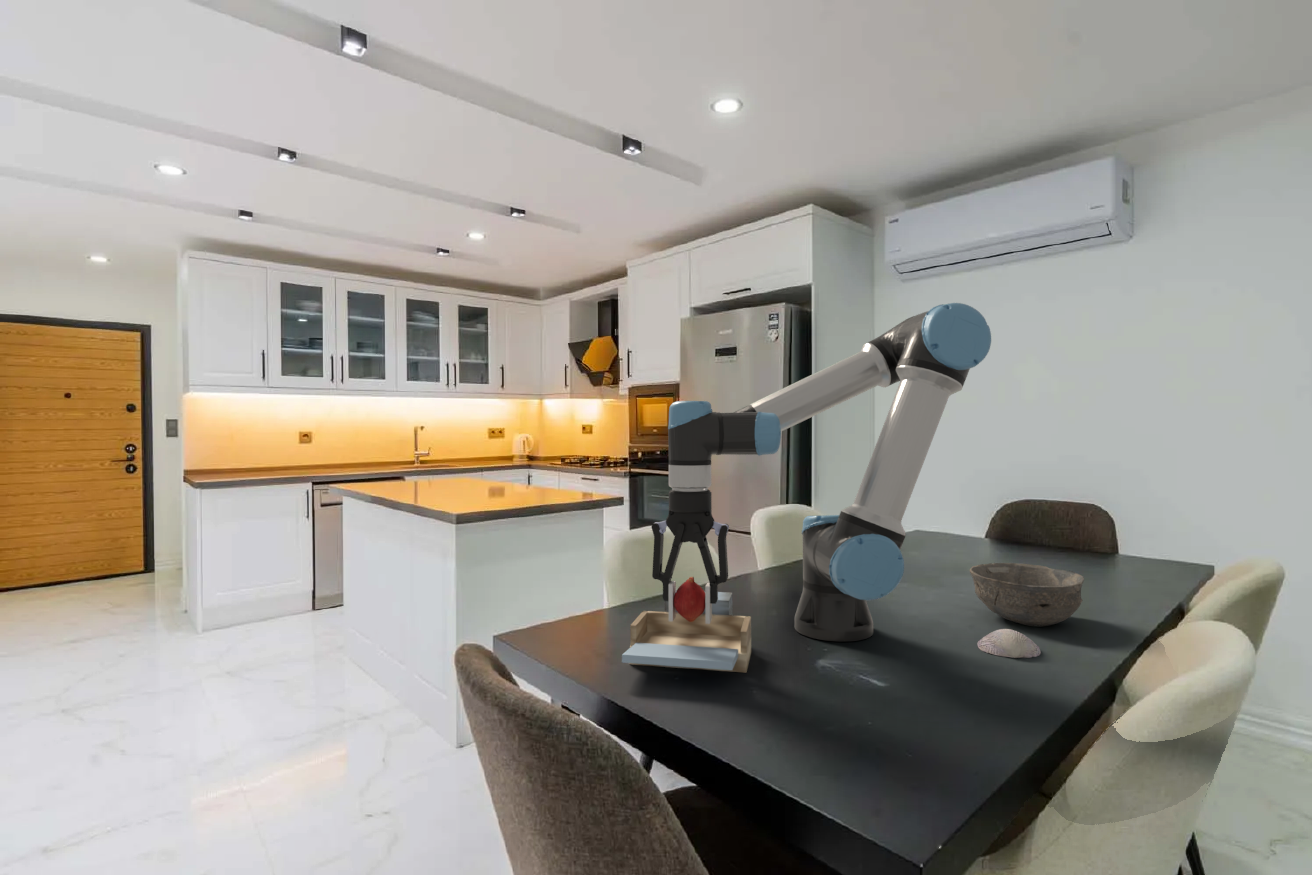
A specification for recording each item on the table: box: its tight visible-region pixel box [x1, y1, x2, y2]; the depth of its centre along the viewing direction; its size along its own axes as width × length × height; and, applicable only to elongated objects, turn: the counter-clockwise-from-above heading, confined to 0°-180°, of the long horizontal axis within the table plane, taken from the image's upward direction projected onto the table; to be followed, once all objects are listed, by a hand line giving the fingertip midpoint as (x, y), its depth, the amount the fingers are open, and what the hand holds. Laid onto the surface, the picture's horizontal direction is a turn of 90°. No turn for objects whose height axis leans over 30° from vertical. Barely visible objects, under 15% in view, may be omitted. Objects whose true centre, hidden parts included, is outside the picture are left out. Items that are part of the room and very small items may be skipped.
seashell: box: [976, 628, 1042, 659], centre depth 117 cm, size 10×6×10 cm
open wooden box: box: [628, 589, 752, 673], centre depth 117 cm, size 20×17×9 cm
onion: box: [674, 576, 705, 622], centre depth 114 cm, size 6×6×8 cm
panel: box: [621, 643, 738, 670], centre depth 105 cm, size 17×2×9 cm
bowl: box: [969, 562, 1085, 627], centre depth 134 cm, size 21×21×10 cm
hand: (690, 620), depth 114 cm, fingers closed on onion, 6 cm apart
